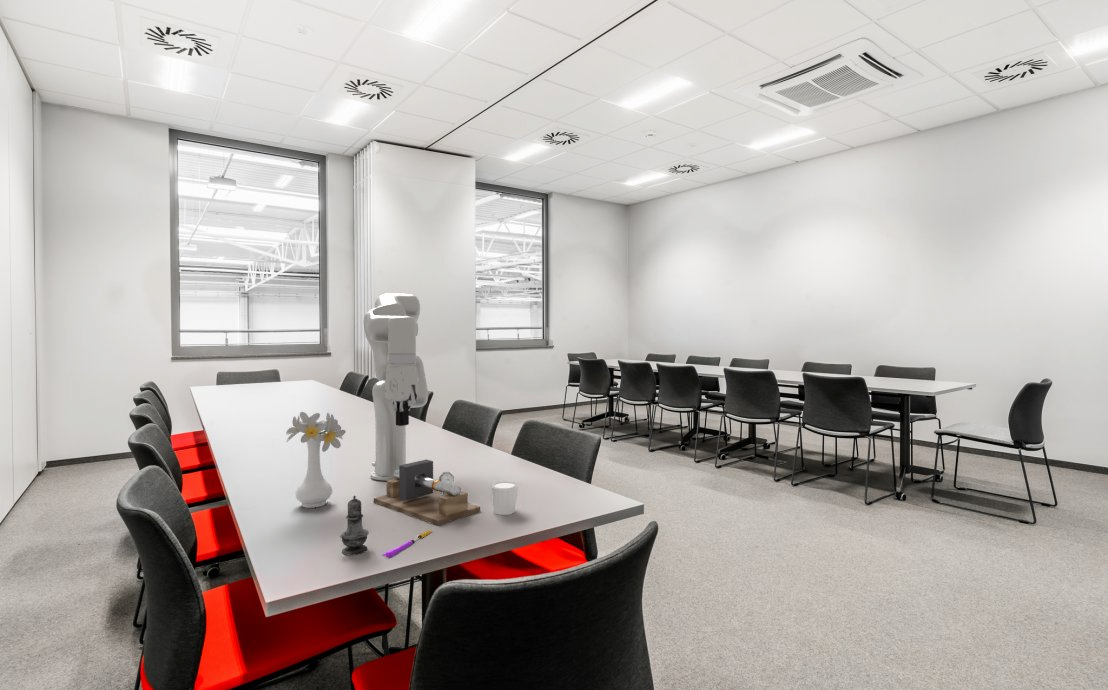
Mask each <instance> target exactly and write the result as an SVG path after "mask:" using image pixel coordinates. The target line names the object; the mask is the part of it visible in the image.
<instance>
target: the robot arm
mask: <svg viewBox="0 0 1108 690" xmlns="http://www.w3.org/2000/svg"><path fill="white" fill-rule="evenodd" d="M420 313H421V303H420V300H419V299H418V298H417V296H416V294H415V295H414V294H411V293H384V294H383V293H382V294H381V295H379V296H378V297H377V298H376V299H375V302H374V308H372V309H370V310H369V311H367V312H366V313H365V314H364V316H363V330H364V334H365V338H366V340H367V342H368V344H369V346H370V348H371V350H372V354H373V355H372V356H373V367H374V373H375V377H376V379H377V380H378V381H377V382H375V383H374V385H373V386H372V402H373V407H374V419H375V424H374V425H375V426H374V427H375V460H374V461H372V463H371V466H372V467H374V470H373V471H372V472H371V473H370V478H371V479H372V480H375V481H386V482H387V481H388V480H392V479H396V478H395V477H394V472H395V471H396V470H399V465H404V464H407V455H406V454H407V432H406V431H407V426H409V424H410V411H411V408H421V407H424V406H425V405H426V404H427V402H428V400H429V391H428V384H427V378H426V373H425V372H426V371H425V367H424V362H423V360H422V358H421V357H420V356H419V355H417V339H416V338H417V336H418V335H419V325H418V324H419V323H418V320H419V316H420Z"/></svg>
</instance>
